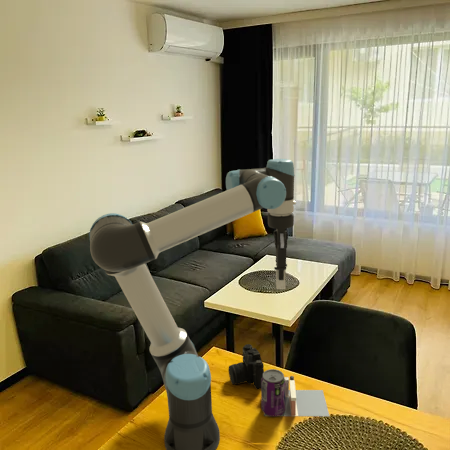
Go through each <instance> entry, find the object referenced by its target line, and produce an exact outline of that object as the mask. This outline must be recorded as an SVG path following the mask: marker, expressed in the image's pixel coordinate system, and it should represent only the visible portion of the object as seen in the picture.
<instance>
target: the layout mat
mask: <svg viewBox="0 0 450 450" xmlns="http://www.w3.org/2000/svg"><path fill="white" fill-rule="evenodd" d="M295 390H296V416H295V415H291V403H290V389H289V396H285V412H284V413H283V414H282V415H279V416H278V417H330V413H329V409H328V404H327V401H326V397H325V395H324V390H323V389H295ZM263 416H264V417H270V416H269V415H267V414H265V413H264V412H263Z"/></svg>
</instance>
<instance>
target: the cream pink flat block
mask: <svg viewBox="0 0 450 450" xmlns="http://www.w3.org/2000/svg"><path fill="white" fill-rule="evenodd" d="M295 382H296V381H295V379H294V380H290V379H289V390H290V403H291V415H295V416H294V417H297V416H296V390H297V389H296V383H295Z"/></svg>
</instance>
